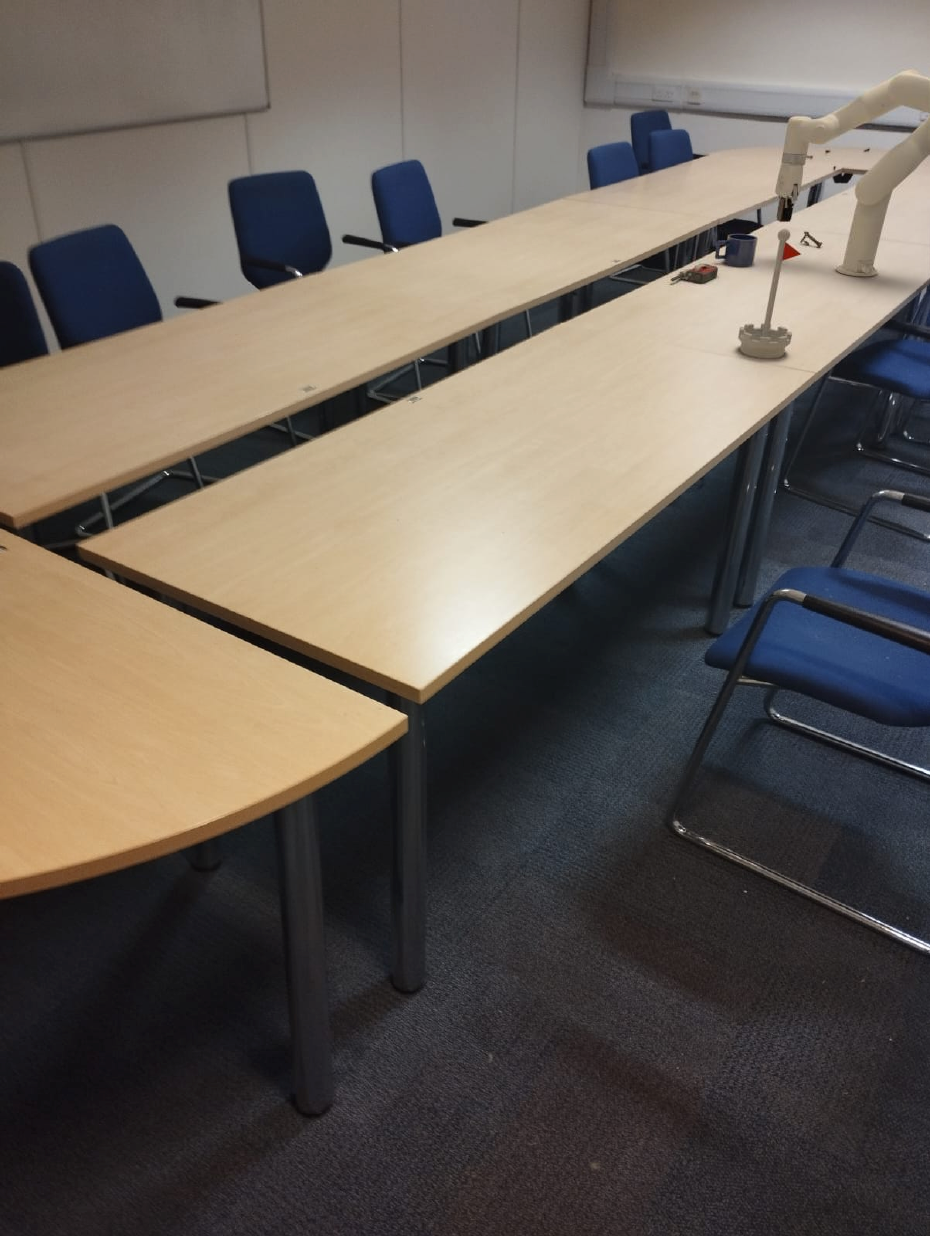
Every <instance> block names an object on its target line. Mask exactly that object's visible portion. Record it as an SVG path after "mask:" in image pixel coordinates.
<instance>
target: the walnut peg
mask: <svg viewBox="0 0 930 1236" xmlns="http://www.w3.org/2000/svg"><path fill="white" fill-rule="evenodd" d="M785 199H786V198H780V203H779V202H778V203H779V204H778V206H779V209H778V208H777V212H778V215H777V214H776V221H778V222H779V223H790V222H791V220H781V218H782V212H783V207H785ZM789 200H791V199H788V202H789Z"/></svg>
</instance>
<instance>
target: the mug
mask: <svg viewBox="0 0 930 1236" xmlns="http://www.w3.org/2000/svg"><path fill="white" fill-rule="evenodd" d="M758 240H759V239H758V237H757V236H755V235H752V234H745V233H732V234H728V235H727V238H726V240H717V242H716V247H715V254H714V259H715V260H723V264H725V265H726V266H730V267H735V268H747V267H748V268H749V267H752V266H753V265H754V262H755V258H756V250H757V245H758ZM721 245H725V248H724V249H725V250H724V254H720V250H721Z"/></svg>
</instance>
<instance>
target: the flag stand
mask: <svg viewBox="0 0 930 1236" xmlns="http://www.w3.org/2000/svg"><path fill="white" fill-rule="evenodd" d="M790 238H791V232H790V230H789V229H787V228H782V229H780V230H779V231H778V232H777V239H778V241H779V243H778V247H777V253H776V258H775V264H774V269H773V274H772V280H771V285H770V290H769V296H768V301H767V307H766V312H765V318H764V322H763V323H761V324H760V326H759V327H755V324H754V323H746V324H744V325H743V326H744V327H742V326H740V327H739V330H738V337H737V338H738V340H739V341H740V348H739V350H740V352H741V353H742V354H744V355H746V356H749V357H754V358H759V359H778V358H781V357H783V356H784V354H785V351H786V347H789V345H791V342H792V337H793V332H792V331H788V330H789V329H788V328H787V327H784V326H780V325H779V326H778V327H777V329H775V328H774V329H773V328H772V323H771V322H772V317H773V314H774V313H773V312H774V307H775V301H776V297H777V291H778V286H779V280H780V275H781V270H782V265H783V262H784V261H786V260H789V259H792V258H795V257H798V256H801V255H802V253H801V252H800V251H798V250H797V249H796V248H794V247H793V246H792V245H790V244H789V243H788V242H787V241H789V240H790Z"/></svg>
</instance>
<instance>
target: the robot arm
mask: <svg viewBox="0 0 930 1236" xmlns="http://www.w3.org/2000/svg"><path fill="white" fill-rule="evenodd" d="M901 106H903V107H906V108H910V109H912V110H916V111H921V112H923V113H928V114H930V77H926V76H923V75H921V73H920V72H919V71H917V70H915V69H906V70H903V71H900V72H899V73H897V74H896V75H894V76H893V77H891V78H888V79H887V80H885V81H883V82H881V83H880V84H878V85H876V86H874V87H872V88H869V90H866V91H864V92H863V93H861V94H859V95H858V97H856V98H854V99H853V100H852V101H851V102H849V103H847V104H846V105H844V106H842V107H840V108H838V109H836V110H834V111H832V112H830V113H829V114H826V115H825V116H822V117H819V118H811V117H810V116H804V115H795V116H791V117H790V118H789V119H788V121H787V127H786V132H785V138H784V145H783V151H782V156H781V162H780V167H779V171H778V174H777V179H776V185H775V190H774V192H775V194H776V195H777V196H778V202H777V204H778V205H777V206H778V207H777V210H778V209H779V203H780V198H786V199H785V207H783V212H782V218H781V220H790V221H791V220H792V216H793V211H794V208H795V203H796V202H797V201H798V198H799V196H800V194H801V190H802V184H803V175H804V166H805V165H806V162H807V156H808V150H809V145H810V144H813V145H824V144H827V143H828V142H831V141H833V140H835V139H836V138H838V137H840V136H842V135H844V134H846V133H848V132H850V131H852V130H853V129H855V128H858V127H860V126H862V125H864V124H868V123H871V122H872V121H874V120H877V119H878V118H880V117H882V116H884V115H886V114H888V113H890V112H891V111H893V110H895V109H898V108H900V107H901ZM929 156H930V115H929V116H928V117H927V118H926V119H925V120H923V122H921V124H920V125H919V126H918V127H917V128H916V129H915V130H913V132H912V133H910V134H909V135H908V136H907V137H906V138H905V139H904V140H902V141H901V142H899V143H898V144H896V145H894V146H893V147H892V148H890V150H888V151H887V152H886V153H885V154H884V155H883V156H882V157H880V159H879V160H877V162H876V163H875V164H874V165H872V167H871V168H869V169H868V170H867V171H866V172H865V173H864V174H863V175H862V176H861V177H860V178H859V179H858V181H857V183H856V184H855V188H854V195H855V198H856V200H857V202H856V205H855V209H854V212H853V217H852V221H851V225H850V230H849V233H848V234H849V235H848V238H847V239H848V240H847V244H846V248H845V253H844V256H843V261H842V264H839V265H837V266H836V271H837V272H838V273H840V274H843V275H848V276H853V277H873V276H876V275H877V272H878V270H877V269H876V268H875V267H874V266H875V265H874V264H875V260H876V256H877V252H878V248H879V244H880V240H881V236H882V232H883V227H884V223H885V220H886V216H887V211H888V207H889V204H890V200H891V197H892V194H893V191H894V190H895V189H896V188H897V187H898V186H899V185H900V184H901V183H903V181H905V179H907V178H908V177H909V176H910V175H911V174H912V173H913V172H914V171H916V170H917V169H918V167H919V166H920V165H921V164H922V163H923V161H924V160H926V158H928V157H929ZM788 199H791V200H789V202H788ZM777 215H778V211H777V213H776V216H777Z"/></svg>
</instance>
